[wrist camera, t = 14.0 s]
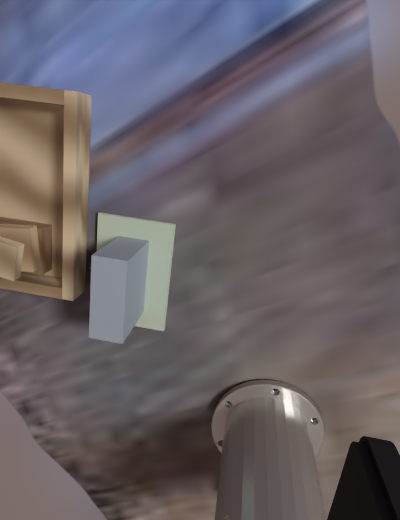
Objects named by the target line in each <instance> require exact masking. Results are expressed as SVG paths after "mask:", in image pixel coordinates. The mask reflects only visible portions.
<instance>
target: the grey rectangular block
mask: <svg viewBox="0 0 400 520" xmlns="http://www.w3.org/2000/svg"><path fill="white" fill-rule="evenodd" d="M148 252H149V241H148V240H142V239H135V238H129V237H122V236H119V237H117V238H116V239H114V240H113V241H111V242H110V243H108V244H107V245H106V246H104V247H103V248H101V249H100V250H98V251H97V252H96V253H94V254H93V255H91V286H90V319H89V338H93V339H99V340H104V341H110V342H115V343H121V344H123V342H124V341H125V339H126V338H127V336H128V335H129V333H130V332H131V330H132V329H133V327H134V325H135V324H136V322H137V321H138V319H139V318H140V316H141V315H142V313H143V312H144V302H145V290H146V277H147V265H148Z"/></svg>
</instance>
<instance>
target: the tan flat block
mask: <svg viewBox="0 0 400 520" xmlns="http://www.w3.org/2000/svg"><path fill="white" fill-rule="evenodd" d="M0 224H16V225H36V226H37V233H38V241H39V250H40V259H41V268H39V269H38V270H36V271H34V272H25V271H21V272H25V273H31V274H37V275H44V274H45V273H47V272H48V271H50V270H52V225H51V224H45V223H38V222H32V221H25V220H19V219H13V218H6V217H0Z"/></svg>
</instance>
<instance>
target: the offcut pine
mask: <svg viewBox="0 0 400 520" xmlns="http://www.w3.org/2000/svg"><path fill="white" fill-rule="evenodd" d="M23 251H24V244H23V243H20V242H16V241H13V240H10V239H7V238H3V237H0V277H1V278H5V279H8V280H11V281H15V280H16V279H18V278H20V277H21V268H22V260H23Z"/></svg>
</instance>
